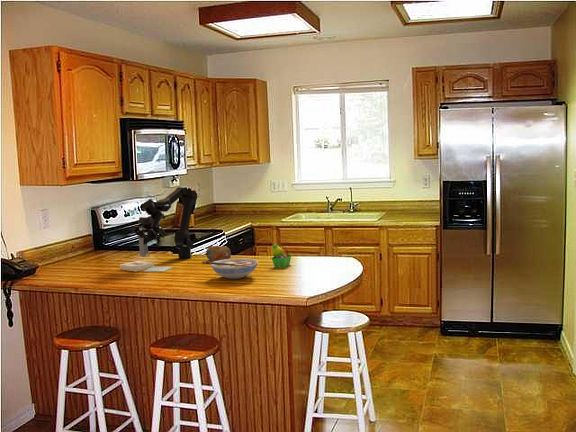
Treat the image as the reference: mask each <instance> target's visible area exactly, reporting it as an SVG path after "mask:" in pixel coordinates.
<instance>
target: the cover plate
mask: <svg viewBox="0 0 576 432" xmlns="http://www.w3.org/2000/svg"><path fill="white" fill-rule="evenodd" d="M154 266H155V263H154V262H150V261H143V260H137V261H131V262H125V263H122V264H121V263H120V264H119V268H120V270H123V271H129V272H130V271H131V272H141V271H144V270H147V269H149V268H151V267H154Z"/></svg>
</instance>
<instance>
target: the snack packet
mask: <svg viewBox="0 0 576 432" xmlns="http://www.w3.org/2000/svg"><path fill="white" fill-rule="evenodd" d="M205 253H206V257H207V259H208V260H209V262H215V261H219V260H225V259H231V256H232V251H231V249H230V248H229V247H228V246H226V245H225V246H224V245H223V246H222V245H221V246H218V245H211V246H208V247H207V249H206V252H205Z"/></svg>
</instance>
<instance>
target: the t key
mask: <svg viewBox="0 0 576 432" xmlns="http://www.w3.org/2000/svg"><path fill="white" fill-rule="evenodd" d="M145 239H146V237H140V238H139V237H138V243H139V244H138V245H139V246H138V247H139V249H138V250H139V253H137V254H138V255H137V256H138V257H140V258H141V257H142V258H148V257H150V256H151V255H150V253H149V247H148V245H149V244H148V243H147V244H146V245H144V244H143V243H144V241H145Z"/></svg>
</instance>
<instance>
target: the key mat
mask: <svg viewBox="0 0 576 432" xmlns="http://www.w3.org/2000/svg"><path fill="white" fill-rule="evenodd" d="M173 268H174V267H173V266H155V265H154V267H151V268H149V269H145V270H143V272H144V273H165V272H168V271H169V270H171V269H173Z"/></svg>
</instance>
